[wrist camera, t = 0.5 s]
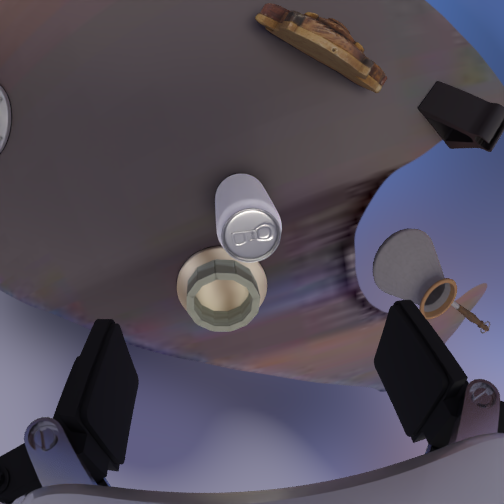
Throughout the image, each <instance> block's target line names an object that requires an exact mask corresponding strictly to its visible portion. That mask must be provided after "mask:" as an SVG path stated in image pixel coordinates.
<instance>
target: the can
mask: <svg viewBox="0 0 504 504" xmlns="http://www.w3.org/2000/svg"><path fill="white" fill-rule="evenodd" d="M215 212H216V230H217V236H218V239H219V242H220V244H221V245H222V247H223V248H224V249H225V251H226V252H227V253H228V254H229V255H230V256H231V257H232V258H234V259H236V260H238V261H241V262H245V263H254V262H259V261H262V260H264V259H266V258H267V257H269V256H270V255H271V254H272V253H273V252H274V251H275V250H276V249H277V247H278V245H279V243H280V239H281V231H282V224H281V219H280V216H279V214H278V212H277V210H276V208H275V206H274V204H273V203H272V201H271V199H270V197H269V195H268V194H267V192H266V190H265V188H264V187H263V185H262V184H261V182H260V181H259V180H258V179H256V178H255V177H253V176H251V175H248V174H234V175H231V176H229V177H227V178H226V179H224V180H223V181H222V182H221V184H220V185H219V186H218V188H217V191H216V195H215Z"/></svg>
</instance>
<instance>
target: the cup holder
mask: <svg viewBox="0 0 504 504" xmlns="http://www.w3.org/2000/svg"><path fill="white" fill-rule="evenodd" d="M266 292H267V280H266V276H265V272H264V270H263V268H262V266H261V264H260V263H259V262H254V263H245V262H241V261H238V260H236V259H234V258H232V257H231V256H230V255H229V254H228V253H227V252H226V251H225V249H224V248H223V247H222V246H214V247H209V248H206V249H203V250H201V251H199V252H197V253H195V254H194V255H192V256H191V257H190V258H189V259H188V260H187V261H186V262H185V263H184V265H183V266H182V268H181V270H180V272H179V275H178V280H177V294H178V298H179V300H180V302H181V304H182V306H183V307H184V308H185V309H186V310H187V312H188V313H189V315H190V316H191V317H192V319H193V320H194V322H195V323H197V324H198V325H200V326H202V327H204V328H206V329H208V330H210V331H223V332H230V331H233V330H236V329H238V328H241V327H243V326H246V325H247V324H248V323H249V322H250V321H251V320H252V319H253V318H254V317H255V316H256V314H257V313H258V310H259V307H260V305H261V304H262V302H263V300H264V298H265V296H266Z"/></svg>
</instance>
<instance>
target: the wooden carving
mask: <svg viewBox="0 0 504 504" xmlns="http://www.w3.org/2000/svg"><path fill="white" fill-rule="evenodd" d="M255 19H256V20H257V22H259V23H260V24H262V25H264V26H266V30H268V31H269V32H271V33H272V34H274V35H275V36H277V37H279V38H280V39H282V40H284V41H285V42H287V43H289V44H290V45H292V46H294V47H295V48H297V49H298V50H300V51H302V52H303V53H305V54H307V55H309V56H310V57H312V58H314V59H315V60H317V61H319V62H321V63H323V64H324V65H326V66H328V67H330V68H332V69H334V70H336V71H337V72H339V73H340V74H342V75H343V76H345V77H346V78H348V79H349V80H351V81H352V82H354V83H356V84H357V85H359V86H361V87H364V88H366V89H369V90H371V91H373V92H375V93H379V91H380V90H381V88H382V86H383V84H384V83H385V81H386V80H387V77H386V75H385V73H384V72H383V70H382V69H381V68H380V67H379V66H378V65H376V63H375V62H373V61H372V60H370V59H369V58H367V57H366V56H365V55H364V54H363V52H364V48H363V47H362V46H361V45H360V44H359V43H358V42H355V41H354V40H353V38H352V37H351V35H350V32H349V31H348V30H347V28H346V27H345V26H344V25H343V24H341V23H340V22H339V21H337V20H335V19H332V18H328V19H325V18H321V17H319V16H318V15H317V14H315V13H311V12H307V13H305V14H304V15H303V14H301V13H299V12H296V11H289V10H287V9H285V8H283V7H281V6H279V5H276V4H271V3H267V4H265V5H264V7H263V9H262V11H261V12H260V13H259V14H257V15H256V17H255Z"/></svg>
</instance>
